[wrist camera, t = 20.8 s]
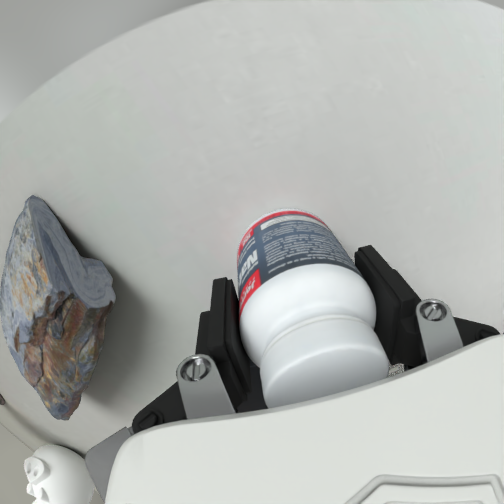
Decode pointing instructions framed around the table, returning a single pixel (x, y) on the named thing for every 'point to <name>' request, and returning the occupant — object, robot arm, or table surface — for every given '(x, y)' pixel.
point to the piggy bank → (58, 476)
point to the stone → (53, 308)
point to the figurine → (2, 400)
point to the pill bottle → (305, 310)
